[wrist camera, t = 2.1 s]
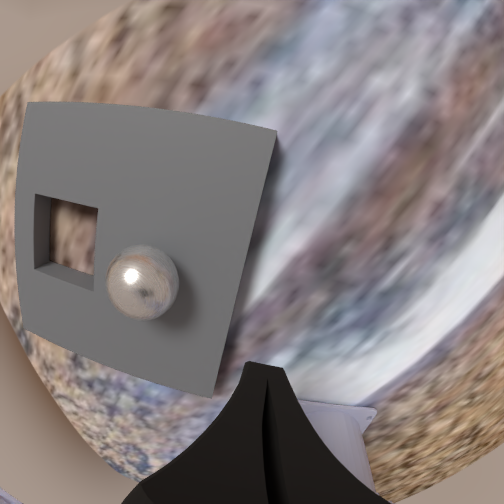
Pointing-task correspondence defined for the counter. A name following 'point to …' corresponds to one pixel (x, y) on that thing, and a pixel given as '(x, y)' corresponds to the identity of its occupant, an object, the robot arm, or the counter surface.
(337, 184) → the counter surface
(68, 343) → the hole board
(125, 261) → the steel ball
